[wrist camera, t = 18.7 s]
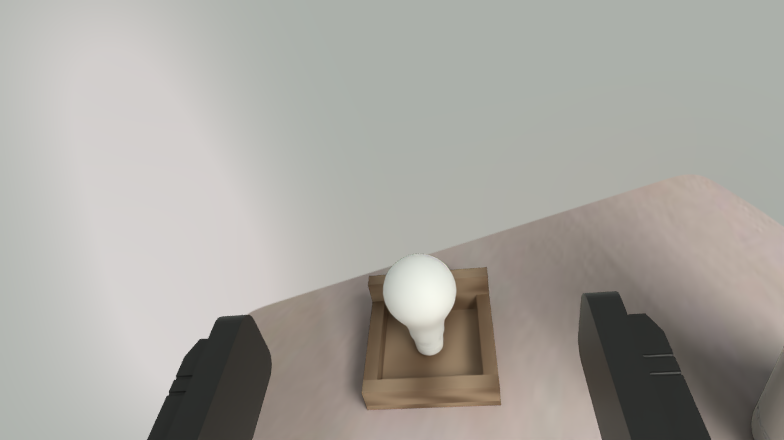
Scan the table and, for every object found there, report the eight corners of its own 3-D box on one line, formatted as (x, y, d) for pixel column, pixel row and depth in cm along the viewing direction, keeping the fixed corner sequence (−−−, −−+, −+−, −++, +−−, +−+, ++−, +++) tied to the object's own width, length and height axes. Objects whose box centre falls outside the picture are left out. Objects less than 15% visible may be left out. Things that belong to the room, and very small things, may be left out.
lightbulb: (396, 329, 51) (375, 245, 44) (458, 319, 50) (446, 233, 44) (401, 382, 46) (378, 297, 39) (469, 372, 46) (458, 284, 39)
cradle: (489, 303, 52) (486, 267, 49) (500, 404, 43) (498, 369, 40) (378, 310, 54) (369, 276, 51) (367, 409, 45) (355, 375, 42)
